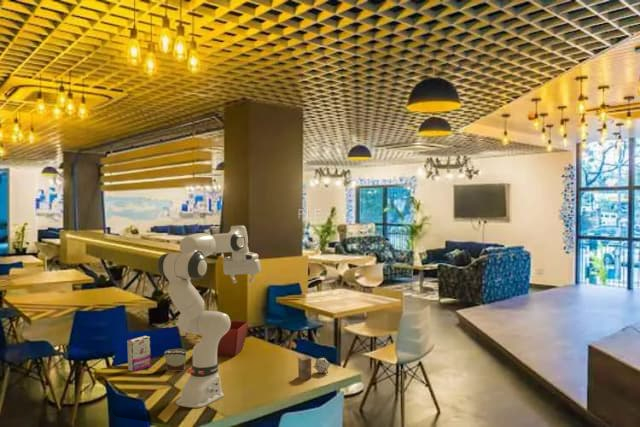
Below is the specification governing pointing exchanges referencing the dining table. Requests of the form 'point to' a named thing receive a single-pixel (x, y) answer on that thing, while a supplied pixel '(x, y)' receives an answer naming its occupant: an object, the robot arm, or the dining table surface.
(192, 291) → the robot arm
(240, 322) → the plant pot
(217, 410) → the dining table surface
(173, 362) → the food container
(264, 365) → the dining table surface
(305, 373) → the walnut block
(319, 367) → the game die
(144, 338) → the candy bar box
